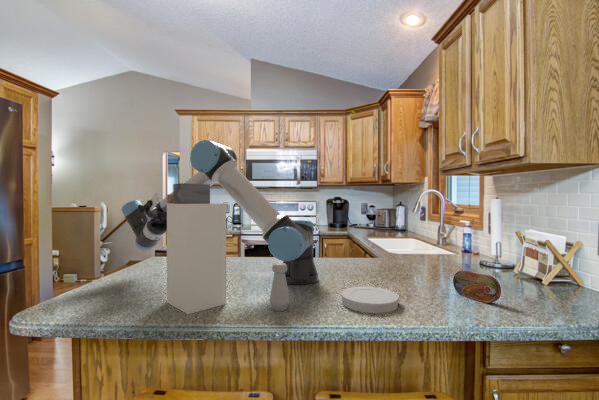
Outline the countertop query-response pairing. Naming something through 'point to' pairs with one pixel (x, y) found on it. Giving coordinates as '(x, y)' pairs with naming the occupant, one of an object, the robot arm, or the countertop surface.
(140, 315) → the countertop surface
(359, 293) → the lid
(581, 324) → the countertop surface
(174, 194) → the panel with wooden post
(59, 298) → the countertop surface
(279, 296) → the salt shaker
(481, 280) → the tin
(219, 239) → the pedestal
